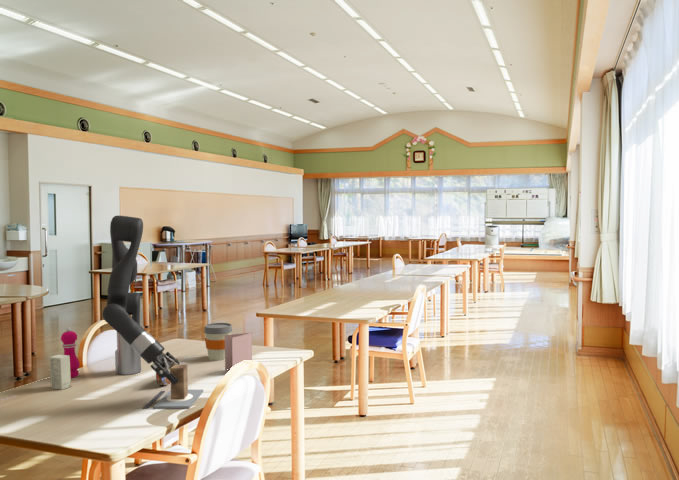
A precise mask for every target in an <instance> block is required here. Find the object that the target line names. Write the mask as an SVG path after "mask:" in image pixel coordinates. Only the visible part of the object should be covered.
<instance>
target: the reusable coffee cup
mask: <svg viewBox="0 0 679 480" xmlns="http://www.w3.org/2000/svg"><path fill="white" fill-rule="evenodd" d="M203 332H204V336H205V337H204V342H205V348H206V349H207V355H208V360H210V361H222V360H221V359H225V335H231V334H232V332H233V326H232V323H227V322H214V323H213V322H212V323H208V324H205V325H204V331H203Z"/></svg>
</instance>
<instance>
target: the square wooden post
mask: <svg viewBox="0 0 679 480" xmlns="http://www.w3.org/2000/svg"><path fill="white" fill-rule="evenodd" d="M170 372H171V373H172V374H173V375H174V376H175V377H176V378H177V379H178V382H177V383H176V384H175V385H173V384H172V383H170V390H171V399H185V398H186V397H187V396H188V390H189V386H188V381H189V380H188V364H180V365H174V366H173V367H171V368H170Z"/></svg>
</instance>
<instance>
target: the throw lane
mask: <svg viewBox="0 0 679 480" xmlns="http://www.w3.org/2000/svg"><path fill="white" fill-rule="evenodd" d="M165 392H166V391H165V390H160V391H159V392H158V393H157V394H156V395H155V396H154V397H152V399H151V400H149V401H148V402H147V403H146V404H145V405H144V406H143V407H142V410H143V409H144V410H145V409H149V407H151V406H152V405H153V404H155V402H156V401H157V400H158V399H159V398H160V397H161V396H163V394H165ZM203 393H204V389H188V396H187V397H186V398H185V399H171V389H170V390H169V391H168V392H167V393H166V394H165V395H164V396H163V397H162V398H160V400H158V401H157V402H156V404H155V405H154V406H153V409H160V410H161V409H162V410H163V409H164V410H165V409H166V410H167V409H168V410H169V409H172V410H173V409H176V410H177V409H182V410H184V409H185V410H186V409H189V410H190V408H192V406H193V404H195V402H196V401H197V400H198V399H199V398H200V396H201V395H202V394H203Z"/></svg>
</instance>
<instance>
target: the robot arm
mask: <svg viewBox="0 0 679 480" xmlns="http://www.w3.org/2000/svg"><path fill="white" fill-rule="evenodd" d="M109 225H110V227H109V235H110V242H111V249H112V250H111V252H112V253H111V254H112V257H111V258H112V260H111V263H112V264H111V272H110V274H109V279H108V280H109V281H108V286H107V301H106V306H105V307H104V308H103V309H102V314H101V315H102V318H103V320H104V322H106V323H107V324H108V325H109V326H110V327H111V328H112V329H113V330H115V331H116V350H115V352H114V355H115V359H114V361H115V374H118V375H123V376H126V375H134V374H138V373H140V372H142V359H143V361H145V362H146V363H147V364H151V363H152V364H151V365H150V368H151V369H152V370H153V371H154V372H155V374H156V373H157V374H158V375H159V376H160V377H161V378H163V377H164V378H167V379H168V380H169V381H170V382H171V383H172V384H173V385H175V384H176V383H177V382H178V379H177V378H176V377H175V376H174V375H173V374H172V373H171V372H170V370H169V369H170V368H171V367H173V366H174V365H179V363H180V361H179V359H178V358H176V357H174V355H173V354H171V353H170V352H169V351H167V352H165V353H164V351H165V347H164V346H163V345H162V344H161V343H160V342H159V341H158V340H157V339H156V338H155V337H154V336H153V335H152V334H151V333H150V332H148V331H147V330H146V329H145V328H144V327H143V326H142V325H141V297H140V293H138V292H129V290H130V286H131V285H132V284H133V283H134V281H135V280H136V278H137V276H138V260H137V255H138V252H139V250H140V249H139V248H140V245H141V243H142V242H141V241H142V239H143V238H142V237H143V233H144V231H143V230H144V221H143V220H142V218H139V217H135V216H133V217H132V216H129V215H128V216H127V215H115V216H113V217H112V218H111V221H110V224H109ZM124 242H128V243H129V242H130V244H129V248H128V247H127V246H126V245H125V243H124ZM177 359H178V360H177ZM157 368H158V369H157ZM161 373H162V374H161ZM170 373H171V374H170ZM171 383H170V384H171Z"/></svg>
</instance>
